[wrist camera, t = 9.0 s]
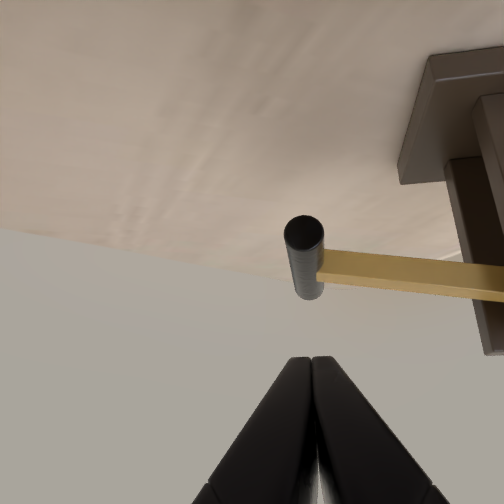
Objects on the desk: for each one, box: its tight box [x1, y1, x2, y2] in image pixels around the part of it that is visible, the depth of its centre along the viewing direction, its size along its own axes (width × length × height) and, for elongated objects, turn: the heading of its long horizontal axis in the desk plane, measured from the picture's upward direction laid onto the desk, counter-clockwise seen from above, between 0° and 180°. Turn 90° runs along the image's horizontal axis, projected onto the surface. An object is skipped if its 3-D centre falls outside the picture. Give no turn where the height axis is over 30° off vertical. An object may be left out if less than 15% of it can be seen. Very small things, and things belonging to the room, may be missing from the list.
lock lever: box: [284, 215, 504, 302], centre depth 15 cm, size 11×6×2 cm, turn 99°
